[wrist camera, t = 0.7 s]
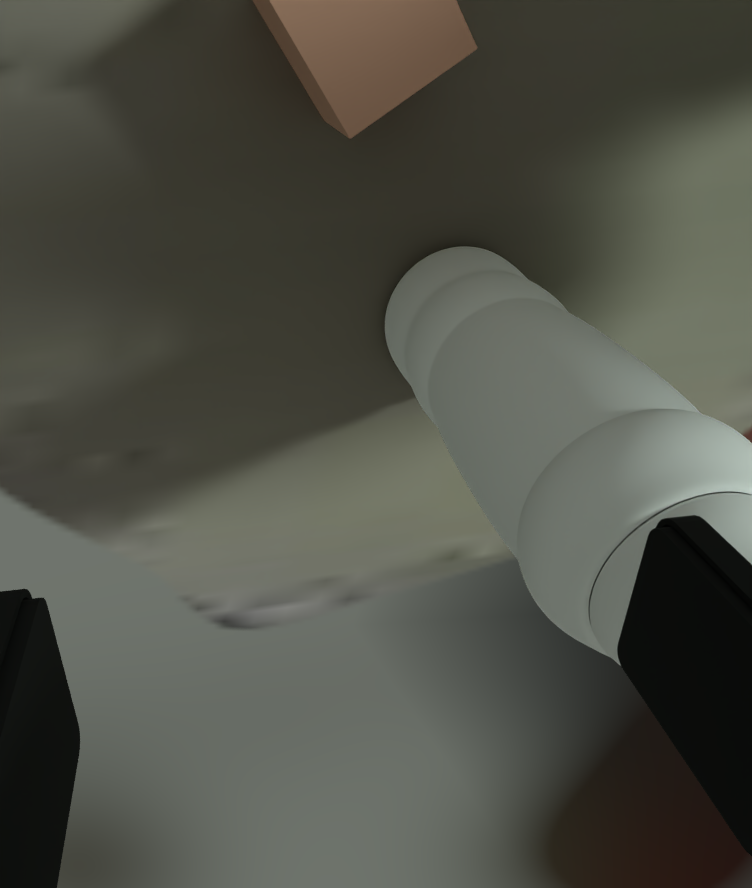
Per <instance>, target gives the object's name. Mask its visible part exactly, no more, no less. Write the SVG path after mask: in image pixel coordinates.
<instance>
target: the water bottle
mask: <svg viewBox="0 0 752 888" xmlns="http://www.w3.org/2000/svg"><path fill="white" fill-rule="evenodd" d="M385 337H386V342H387V346H388V349H389V352H390V354H391V357H392V359H393V361H394V362H395V364H396V366H397V367H398V369H399V371H400V372H401V374H402V375H403V376H404V378H405V379H406V380H407V382H408V383H409V384H410V385H411V387H412V390H413V392H414V394H415V396H416V398H417V400H418V402H419V404H420V405H421V407H422V409H423V410H424V412H425V413H426V414H427V416H428V417H429V418H430V420H431V421H432V422H433V423H434V424H435V425H436V426H437V427H438V429H439V432H440V434H441V436H442V438H443V441H444V443H445V445H446V447H447V449H448V451H449V453H450V455H451V457H452V459H453V460H454V462H455V464H456V466H457V468H458V470H459V471H460V473H461V475H462V477H463V478H464V480H465V482H466V484H467V485H468V487H469V489H470V490H471V492H472V494H473V495H474V497H475V499H476V500H477V502H478V504H479V505H480V507H481V508H482V510H483V512H484V513H485V515H486V516H487V518H488V519H489V521H490V522H491V524H492V525H493V527H494V528H495V530H496V531H497V533H498V534H499V536H500V537H501V538H502V540H503V541H504V542H505V544H506V545H507V546H508V548H509V549H510V550H511V552H512V553H513V554H514V556H515V557H516V558H517V559H518V561H519V565H520V569H521V573H522V575H523V578H524V581H525V583H526V586H527V587H528V590H529V591H530V593H531V595H532V597H533V598H534V600H535V602H536V603H537V605H538V606H539V607H540V609H541V610H542V611H543V612H544V613H545V615H546V616H547V617H548V618H549V619H550V620H551V621H552V622H553V623H554V624H555V625H557V626H558V627H559V628H560V629H561V630H563V631H564V632H566V633H567V634H568V635H570V636H571V637H573V638H575V639H576V640H578V641H580V642H582V643H584V644H585V645H587V646H589V647H591V648H593V649H595V650H597V651H598V652H600V653H603V654H604V655H607V656H609V657H611V658H612V659H614V661H616V662H617V663H618V664H619V665H621V664H620V662H619V659H618V654H617V646H618V642H619V638H620V634H621V631H622V627H623V624H624V620H625V616H626V613H627V609H628V606H629V602H630V599H631V595H632V591H633V588H634V584H635V581H636V577H637V573H638V570H639V566H640V563H641V559H642V556H643V552H644V548H645V545H646V541H647V538H648V535H649V532H650V531H651V530H652V529H654V528H656V526H657V524H658V522H659V521H660V520H661V519H665V518H672V517H681V516H690V515H696V516H700V517H701V518H703V519H704V520H705V521H706V522H708V523H709V524H710V525H711V526H712V527H713V528H714V529H715V530H716V531H717V532H718V533H719V534H720V535H721V536H722V537H723V538H724V539H725V540H726V541H727V542H729V543H730V544H731V545H732V546H733V547H734V548H735V549H736V550H737V551H738V552H739V553H740V554H741V555H742V556H743V557H744V558H745V559H746V560H747V561H749V562H750V563H751V564H752V443H751V442H750V441H749V440H747V439H746V438H745V437H744V436H743V435H741V434H740V433H739V432H737V431H736V430H734V429H733V428H731V427H730V426H728V425H726V424H725V423H723V422H721V421H719V420H717V419H714V418H712V417H710V416H707V415H704V414H701V413H700V412H699V411H698V410H697V409H696V408H695V407H694V406H693V405H692V404H691V403H690V402H689V401H688V400H687V399H686V398H685V397H684V396H683V395H682V394H680V393H679V392H678V391H677V390H676V389H675V388H674V387H672V386H671V385H670V384H669V383H668V382H667V381H666V380H664V379H663V378H662V377H661V376H659V375H658V374H657V373H656V372H654V371H653V370H652V369H651V368H649V367H648V366H647V365H646V364H644V363H643V362H642V361H640V360H639V359H638V358H636V357H635V356H634V355H633V354H631V353H630V352H629V351H627V350H626V349H624V348H623V347H622V346H620V345H619V344H618V343H616V342H615V341H613V340H612V339H611V338H609V337H608V336H606V335H605V334H603V333H602V332H600V331H599V330H597V329H596V328H594V327H593V326H591V325H590V324H588V323H586V322H585V321H583V320H582V319H580V318H578V317H576V316H574V315H573V314H571V313H569V312H568V311H567V309H566V308H565V307H564V306H563V305H562V304H561V303H560V302H559V301H558V300H557V299H556V298H555V297H554V296H553V295H551V294H550V293H549V292H548V291H546V290H545V289H543V288H542V287H540V286H539V285H537V284H535V283H534V282H532V281H530V280H528V279H527V278H526V277H525V276H524V275H523V274H522V273H521V272H520V271H519V270H518V269H517V268H516V267H515V266H513V265H512V264H511V263H510V262H508V261H507V260H505V259H504V258H502V257H501V256H499V255H497V254H495V253H493V252H491V251H488V250H485V249H482V248H477V247H470V246H461V247H452V248H447V249H443V250H440V251H438V252H435V253H433V254H431V255H429V256H427V257H425V258H424V259H422V260H421V261H419V262H418V263H416V264H415V265H414V266H413V267H412V268H411V269H410V270H409V271H408V272H407V273H406V274H405V275H404V276H403V277H402V279H401V280H400V281H399V283H398V284H397V286H396V288H395V289H394V291H393V293H392V295H391V298H390V300H389V303H388V306H387V310H386V316H385Z"/></svg>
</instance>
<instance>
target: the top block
mask: <svg viewBox="0 0 752 888" xmlns="http://www.w3.org/2000/svg"><path fill="white" fill-rule="evenodd" d="M252 1H253V2H254V4H255V6H256V7H257V9H258V11H259V12H260V14H261V16H262V17H263V19H264V21H265V22H266V24H267V26H268V28H269V29H270V31H271V33H272V34H273V36H274V38H275V39H276V41H277V43H278V44H279V46H280V48H281V49H282V51H283V53H284V54H285V56H286V58H287V59H288V61H289V63H290V64H291V66H292V68H293V70H294V71H295V73H296V75H297V76H298V78H299V80H300V81H301V83H302V85H303V86H304V88H305V90H306V91H307V93H308V95H309V96H310V98H311V100H312V101H313V103H314V105H315V106H316V108H317V110H318V112H319V113H320V115H321V117H322V118H323V120H324V121H325V122H326V123H328V124H329V125H331V126H332V127H334V128H335V129H336V130H338V131H339V132H341V133H342V134H344V135H345V136H346V137H348V138H349V139H351V138H352V137H354V136H355V135H357V134H358V133H359V132H361V131H362V130H364V129H365V128H366V127H368V126H369V125H371V124H372V123H374V122H375V121H376V120H378V119H379V118H381V117H382V116H383V115H385V114H386V113H388V112H389V111H390V110H392V109H393V108H395V107H396V106H398V105H399V104H400V103H402V102H403V101H405V100H406V99H407V98H409V97H410V96H412V95H413V94H414V93H416V92H417V91H419V90H420V89H422V88H423V87H424V86H426V85H427V84H429V83H430V82H431V81H433V80H434V79H436V78H437V77H438V76H440V75H441V74H443V73H444V72H445V71H447V70H448V69H450V68H451V67H453V66H454V65H455V64H457V63H458V62H460V61H461V60H462V59H464V58H465V57H467V56H468V55H469V54H471V53H472V52H474V51H475V50H477V49H478V48H477V46H476V43H475V41H474V39H473V37H472V34H471V32H470V30H469V28H468V25H467V23H466V21H465V19H464V16H463V14H462V12H461V10H460V8H459V5H458V3H457V1H456V0H252Z"/></svg>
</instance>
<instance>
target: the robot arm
mask: <svg viewBox="0 0 752 888" xmlns="http://www.w3.org/2000/svg"><path fill="white" fill-rule="evenodd" d="M617 654H618V659H619V662H620V664H621V666H622V668H623V670H624V671H625V673H626V674H627V676H628V677H629V679H630V680H631V682H632V683H633V685H634V686H635V688H636V689H637V690H638V692H639V694H640V695H641V696H642V698H643V699H644V701H645V702H646V704H647V705H648V707H649V708H650V710H651V711H652V713H653V714H654V716H655V717H656V719H657V720H658V722H659V723H660V725H661V726H662V728H663V729H664V731H665V732H666V733H667V735H668V736H669V738H670V740H671V741H672V742H673V744H674V746H675V747H676V749H677V750H678V751H679V753H680V754H681V756H682V757H683V759H684V760H685V762H686V763H687V765H688V766H689V768H690V769H691V771H692V772H693V774H694V775H695V777H696V778H697V780H698V781H699V783H700V784H701V786H702V787H703V789H704V790H705V792H706V793H707V794H708V796H709V798H710V799H711V800H712V802H713V803H714V805H715V806H716V808H717V809H718V811H719V812H720V813H721V815H722V817H723V818H724V820H725V821H726V823H727V824H728V826H729V827H730V829H731V830H732V832H733V833H734V835H735V836H736V838H737V839H738V841H739V842H740V843H741V845H742V846H743V848H744V849H745V850H746V851H747V852H748V853H749V854H750V855H751V856H752V564H751V563H750V562H749V561H747V560H746V559H745V558H744V557H743V556H742V555H741V554H740V553H739V552H738V551H737V550H736V549H735V548H734V547H733V546H732V545H731V544H730V543H729V542H727V541H726V540H725V539H724V538H723V537H722V536H721V535H720V534H719V533H718V532H717V531H716V530H715V529H714V528H713V527H712V526H711V525H710V524H709V523H708V522H706V521H705V520H704V519H703V518H701V517H700V516H696V515H690V516H681V517H672V518H665V519H661V520H660V521H659V522H658V524H657V526H656V528H654V529H652V530H651V531H650V532H649V535H648V538H647V541H646V545H645V548H644V552H643V556H642V559H641V563H640V566H639V570H638V573H637V577H636V581H635V584H634V588H633V591H632V595H631V599H630V602H629V606H628V609H627V613H626V616H625V620H624V624H623V627H622V631H621V634H620V638H619V642H618V646H617ZM79 750H80V731H79V726H78V721H77V717H76V713H75V709H74V706H73V702H72V698H71V694H70V690H69V687H68V683H67V680H66V675H65V671H64V667H63V664H62V660H61V656H60V652H59V648H58V645H57V641H56V637H55V633H54V629H53V625H52V622H51V618H50V614H49V610H48V606H47V604H46V601H45V599H44V598H35V599H32V597H31V594H30V592H29V591H28V590H27V589H20V590H12V591H2V592H0V888H57V883H58V877H59V870H60V865H61V859H62V853H63V847H64V841H65V835H66V829H67V822H68V817H69V811H70V805H71V799H72V793H73V787H74V781H75V775H76V769H77V763H78V757H79Z"/></svg>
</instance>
